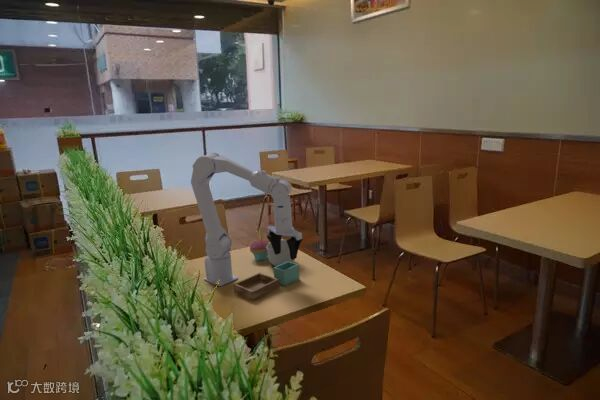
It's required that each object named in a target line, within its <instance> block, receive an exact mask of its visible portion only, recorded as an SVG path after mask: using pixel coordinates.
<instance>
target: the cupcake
mask: <svg viewBox="0 0 600 400" xmlns="http://www.w3.org/2000/svg"><path fill="white" fill-rule="evenodd" d="M260 228H261V227H259V228H258V238H259V239H258V240H257V241H253V242H252V243H251V244H250V245H249V251H250V253H252V254H253V257H254V259H255V260H256V261H265V260H267V259H268V253H267V248H266V246H267V245H268V244H269V243H270V241H267V240H262V236H261V235H262V234H261V232H262V231H261V229H260Z"/></svg>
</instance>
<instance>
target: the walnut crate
mask: <svg viewBox="0 0 600 400" xmlns="http://www.w3.org/2000/svg"><path fill="white" fill-rule="evenodd" d="M232 285H233V293H235V294H237V295H239V296H241V297H243V298H245V299H248V300H250V301H251V302H252V301H253V302H255V301H256V300H258V299H260V298H262V297H264V296H266V295H268V294H270V293H271V292H274V291H276V290H278V289H280V285H279V279H276V278H274V276H271V275H268V274H264V273H262V272H258V273H256V274H254V275H251V276H249V277H246V278H243V279H242V280H239V281H238V282H235V283H233V284H232Z"/></svg>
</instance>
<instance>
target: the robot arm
mask: <svg viewBox="0 0 600 400" xmlns="http://www.w3.org/2000/svg"><path fill="white" fill-rule="evenodd" d="M226 172H227V173H229V174H231V175H233V176H235V177H239V178H241V179H244V180H246V181H248V182H249V184H250V186H251V187H253V188H255V189H257V190H259V191H261V192H263V193H265V194H267V195H270V196H271V198H272V199H273V205H272V206H273V216H274V217H273V218H274V225H270V226H266V231H267V233H268V234H267V235H266V238H267V240H268V242H269V243H271V245H272V247H273V250H274V253H275V255H277V254H279V253H280V252H281V239H282V237H288V239H285V240H286V242H287V244H288V247H289V250H290V258H291V259H292V260H293V259H295V260H296V259H297V258H298V257H297V256H298V252H299V247H300V245H301V243H302V241H303V233H302V232H299V231H297V230H296V229H295V228H294V227H293V217H292V216H293V215H292V203H291V195H290V194H291V191H292V186H291V183H290V182H289V181H287V180H286V179H284V178H281V179H280V177H278V176H276V177H275V176H272V175H271V174H268V173H267V171H266V170H263V169H262V170H259V169H258V170H255V171H252V170H251V169H249V168H247V167H246V166H243V165H241V164H240V163H238V162H235V161H233V160H232V159H230V158H228V157H226V156H225V155H220V154H218V153H217V152H210V153H208V154H205V155H201V156H199V157H198V158H197V159H196V160H195V161H194V162H193V164H192V174H191V179H190V184H191V188H192V190H193V194H194V198H195V199H196V203H197V206H198V209H199V213H200V217H201V219H202V223H203V226H204V229H205V232H206V233H205V238H204V239H205V240H204V241H205V245H206V246H205V253H206V257H205V259H204V267H205V271H204V272H205V277H204V278H203V279H204V280H205V281H207V282H209V283H211V284H213V285H216V283H217V281H218V280H219V279H220V281H219V284H218V285H216V286H218V287H222V286H225V285H226V284H229V283H231V282H234V281H236V280H238V279H239V277H238V276H236V275H233V269H232V255H231V252H230V248H231V247H232V244H233V242H232V239H231V237H230V236H229V235H228V234H227V231H226V229H225V228H224V227H223V226H222V224H221V220H220V217H219V213H218V210H217V208H216V204H215V201H214V198H213V195H212V194H213V193H212V191H211V188H210V185H209V182H210V181H211V179H212V178H213V176H214V175H215V174H219V173H220V174H221V173H226Z"/></svg>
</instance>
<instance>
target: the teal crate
mask: <svg viewBox="0 0 600 400" xmlns="http://www.w3.org/2000/svg"><path fill="white" fill-rule="evenodd" d="M299 266H300V265H299V263H295V262H294V261H293V262H289V261H287V262H285V263H283V264H280V265H278V266H274V267H273V277H274V278H276V279H279V286H282V287H287V286H289V285H291V284H294V283H295V282H297V281H298V280H300V267H299Z"/></svg>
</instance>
